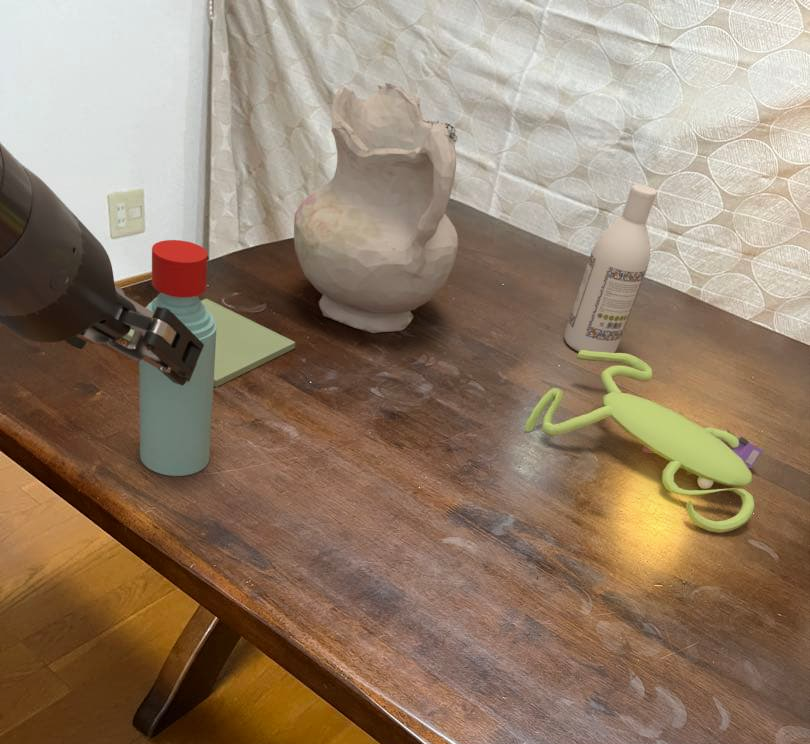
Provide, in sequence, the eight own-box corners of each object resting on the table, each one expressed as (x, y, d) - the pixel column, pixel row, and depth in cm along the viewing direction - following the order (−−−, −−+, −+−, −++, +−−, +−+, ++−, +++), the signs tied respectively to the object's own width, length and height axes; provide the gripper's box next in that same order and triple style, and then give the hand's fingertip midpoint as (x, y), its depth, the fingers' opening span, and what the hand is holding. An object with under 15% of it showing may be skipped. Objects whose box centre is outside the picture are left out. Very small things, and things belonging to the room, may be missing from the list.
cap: (140, 282, 66) (140, 247, 64) (178, 270, 69) (178, 235, 67) (180, 302, 65) (181, 266, 63) (216, 288, 68) (218, 254, 66)
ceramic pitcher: (479, 349, 107) (546, 139, 93) (362, 370, 94) (420, 129, 80) (368, 277, 118) (412, 78, 103) (249, 287, 105) (282, 61, 91)
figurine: (586, 373, 105) (601, 331, 101) (790, 481, 94) (815, 438, 91) (500, 418, 93) (514, 372, 89) (723, 548, 82) (749, 502, 78)
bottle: (124, 454, 76) (120, 250, 64) (173, 429, 80) (178, 233, 68) (176, 485, 74) (181, 280, 62) (223, 457, 78) (236, 261, 66)
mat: (121, 337, 91) (121, 330, 90) (206, 304, 100) (206, 298, 100) (215, 387, 87) (216, 380, 86) (295, 348, 96) (295, 342, 96)
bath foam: (625, 354, 111) (686, 198, 99) (591, 363, 107) (649, 202, 95) (586, 329, 115) (640, 176, 103) (552, 337, 111) (603, 179, 99)
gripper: (155, 227, 47) (239, 338, 63) (-65, 154, 49) (70, 279, 65) (101, 351, 47) (200, 431, 63) (-121, 272, 49) (30, 369, 65)
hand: (134, 353), depth 64 cm, fingers open, 8 cm apart
